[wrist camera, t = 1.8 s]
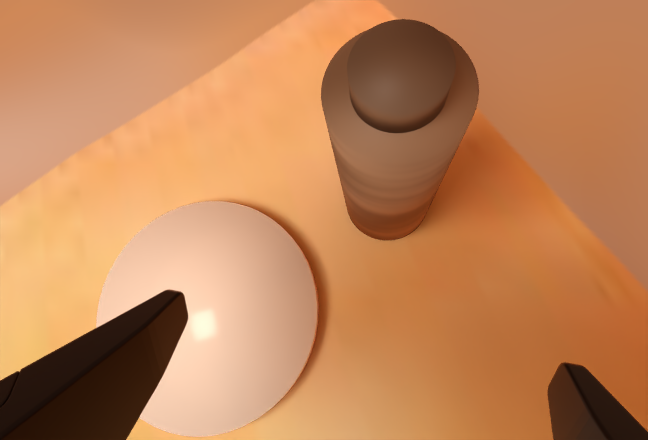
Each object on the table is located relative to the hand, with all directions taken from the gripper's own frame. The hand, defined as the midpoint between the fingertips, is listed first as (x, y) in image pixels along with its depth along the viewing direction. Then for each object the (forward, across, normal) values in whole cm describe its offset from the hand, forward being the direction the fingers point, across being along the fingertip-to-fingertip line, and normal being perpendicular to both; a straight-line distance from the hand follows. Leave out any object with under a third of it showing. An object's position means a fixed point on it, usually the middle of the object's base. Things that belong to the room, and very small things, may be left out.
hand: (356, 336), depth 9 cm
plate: (+9, +9, +10) cm, 16 cm away
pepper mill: (+15, 0, +4) cm, 15 cm away
